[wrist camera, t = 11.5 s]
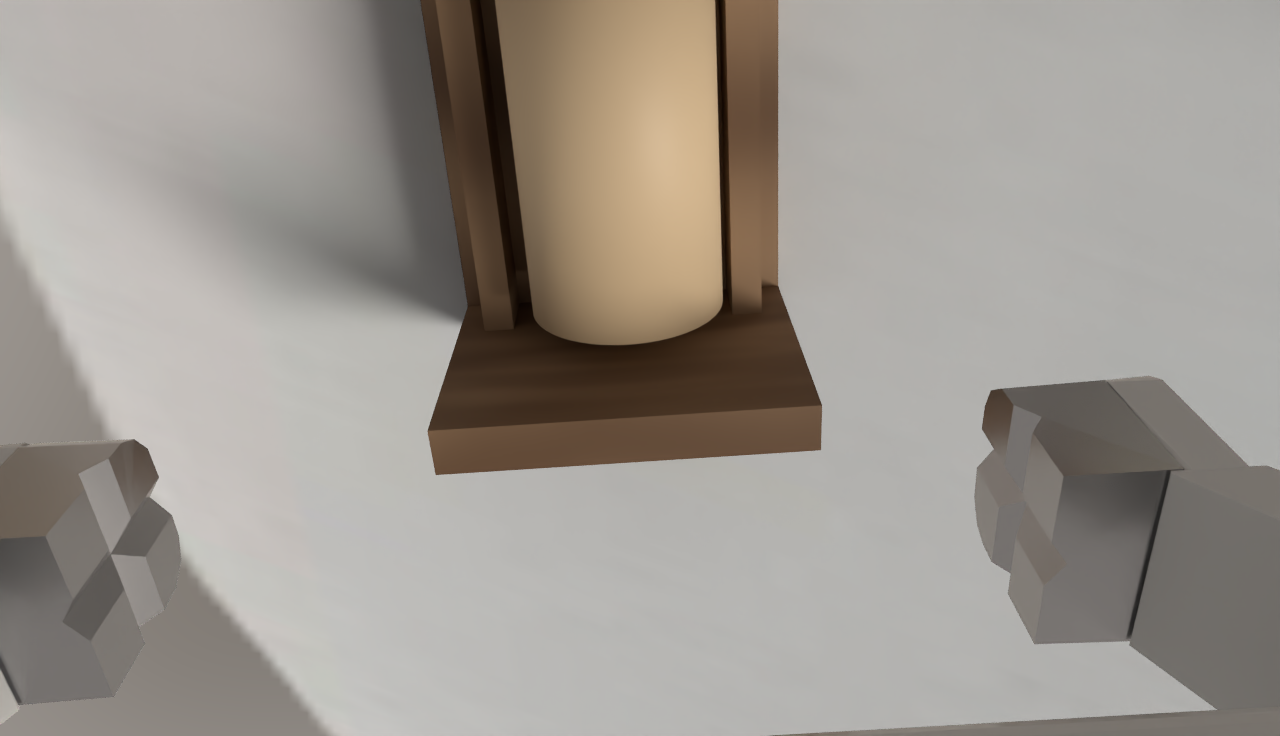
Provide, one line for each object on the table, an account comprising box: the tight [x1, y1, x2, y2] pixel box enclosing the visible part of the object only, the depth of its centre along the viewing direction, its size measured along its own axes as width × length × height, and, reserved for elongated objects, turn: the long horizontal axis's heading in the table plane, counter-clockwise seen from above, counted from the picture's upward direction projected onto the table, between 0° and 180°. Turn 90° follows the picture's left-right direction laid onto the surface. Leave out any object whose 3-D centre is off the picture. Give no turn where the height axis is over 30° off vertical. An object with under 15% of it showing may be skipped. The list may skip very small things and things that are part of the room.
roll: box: [495, 0, 723, 345], centre depth 24 cm, size 10×5×5 cm, turn 4°
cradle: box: [420, 0, 822, 475], centre depth 24 cm, size 14×9×8 cm, turn 4°
